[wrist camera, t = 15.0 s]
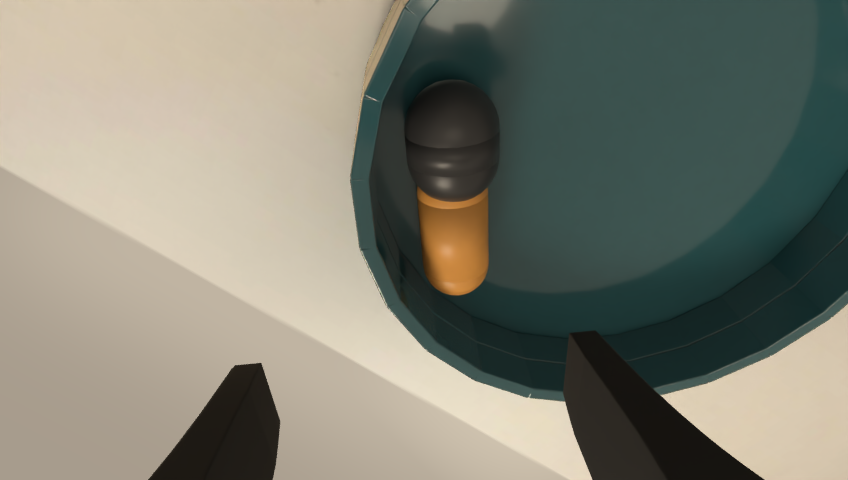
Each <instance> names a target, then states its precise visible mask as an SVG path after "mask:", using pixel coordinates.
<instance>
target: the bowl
mask: <svg viewBox="0 0 848 480" xmlns="http://www.w3.org/2000/svg"><path fill="white" fill-rule="evenodd" d="M443 80H463V81H466V82H469V83H471V84H474V85H476V86H477V87H479V88H480V89H481V90H483V91H484V92H485V93H486V94H487V96H488V97H489V98H490V99H491V100H492V102H493V104H494V106H495V107H496V110H497V114H498V117H499V124H500V158H499V166H498V169H497V172H496V175H495V177H494V179H493V180H492V182H491V183H490V185H489V186H488V252H489V264H488V271H487V274H486V277H485V278H484V280H483V282H482V283H481V284H480V285H479V286H478V287H477V288H476V289H475V290H473V291H472V292H470V293H467V294H464V295H448V294H445V293H442V292H440V291H439V290H437V289H436V288H434V287H433V286H432V284H431V283H430V282H429V281H428V279H427V277H426V275H425V272H424V267H423V258H422V246H421V235H420V224H419V213H418V201H417V185H416V183H415V182H414V181H413V178H412V176H411V174H410V171H409V168H408V163H407V155H406V144H405V134H404V124H405V119H406V114H407V111H408V109H409V107H410V104H411V103H412V102H413V100H414V99H415V97H416V96H417V95H418V94H419V93H420V92H421V91H422V90H423V89H425V88H426V87H428V86H430V85H432V84H433V83H436V82H439V81H443ZM350 183H351V190H352V198H353V205H354V212H355V220H356V227H357V235H358V242H359V248H360V251H361V253H362V256H363V258H364V260H365V262H366V264H367V266H368V268H369V271H370V273H371V275H372V277H373V279H374V281H375V283H376V285H377V288H378V290H379V292H380V294H381V296H382V298H383V300H384V303H385V305H386V306H387V308H388V309H389V310H390V311H391V312H392V313H393V314H394V315H395V317H396V318H397V319H398V320H399V321H400V322H401V323H402V324H403V325H404V327H405V328H406V329H407V330H408V331H409V332H410V333H411V334H412V335H413V336H414V338H415V339H416V340H417V341H418V342H419V343H420V344H421V345H422V346H423V347H424V349H426V350H427V351H428V352H429V353H431V354H433V355H434V356H436V357H437V358H439V359H441V360H442V361H444V362H445V363H447V364H449V365H450V366H452V367H453V368H455V369H457V370H458V371H460V372H461V373H463V374H465V375H466V376H468V377H469V378H471V379H473V380H475V381H477V382H480V383H484V384H487V385H490V386H493V387H496V388H499V389H502V390H505V391H508V392H511V393H514V394H517V395H520V396H523V397H526V398H528V397H529V398H535V399H545V400H554V401H564V402H565V399H564V395H563V389H564V379H565V369H566V360H567V350H568V340H569V333H573V332H583V331H593V330H595V331H597V332H598V333H599V334H600V335H601V336H602V337H603V338H604V339H605V340H606V341H607V343H608V344H609V345H610V346H611V347H612V348H613V349H614V350H615V351H616V352H617V353H618V354H619V355H620V356H621V357H622V358H623V359H624V360H625V361H626V362H627V363H628V364H629V365H630V366H631V367H632V368H633V369H634V370H635V371H636V372H637V373H638V374H639V375H640V376H641V377H642V378H643V379H644V380H645V381H646V382H647V383H648V384H649V385H650V386H651V387H652V388H653V389H654V390H655V391H656V392H657V393H658V394H659V395H664V394H668V393H671V392H675V391H679V390H683V389H687V388H691V387H695V386H699V385H703V384H707V383H708V382H712V381H714V380H717V379H719V378H721V377H724V376H726V375H728V374H731V373H733V372H735V371H737V370H740V369H742V368H744V367H747V366H749V365H751V364H754V363H756V362H758V361H761V360H763V359H765V358H768V357H770V355H771V356H772V355H774V354H775V353H777V352H778V351H780V350H782V349H783V348H785V347H786V346H788V345H790V344H791V343H793V342H794V341H796V340H798V339H799V338H801V337H802V336H804V335H806V334H807V333H809V332H810V331H812V330H813V329H815V328H817V327H818V326H820V325H821V324H823V323H825V322H826V321H828V320H829V319H831V317H833V316H834V315H836V314H837V313H838V312H839V311H840V310H841V309H842V308H844V307H845V306H846V305H847V304H848V0H395V2H394V4H393V7H392V9H391V11H390V13H389V15H388V16H387V18H386V20H385V22H384V24H383V26H382V29H381V32H380V34H379V37H378V40H377V42H376V45H375V47H374V49H373V51H372V54H371V56H370V58H369V60H368V63H367V67H366V70H365V77H364V83H363V90H362V96H361V102H360V109H359V115H358V122H357V128H356V134H355V142H354V150H353V158H352V166H351V174H350Z"/></svg>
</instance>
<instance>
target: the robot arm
mask: <svg viewBox="0 0 848 480" xmlns="http://www.w3.org/2000/svg"><path fill="white" fill-rule="evenodd" d="M563 395H564V399H565V402H566V406H567V410H568V414H569V417H570V421H571V424H572V428H573V431H574V435H575V437H576V440H577V442H578V445H579V447H580V450H581V452H582V455H583V457H584V460H585V462H586V465H587V467H588V469H589V472H590V474H591V477H592V479H593V480H764V479H763V478H761V477H760V476H758V475H757V474H756V473H754V472H753V471H751V470H750V469H749V468H747V467H746V466H744V465H743V464H742V463H740V462H739V461H738V460H736V459H735V458H734V457H732V456H731V455H730V454H728V453H727V452H726V451H725V450H723V449H722V448H721V447H719V446H718V445H717V444H716V443H714V442H713V441H712V440H711V439H709V438H708V437H707V436H706V435H705V434H703V433H702V432H701V431H700V430H699V429H697V428H696V427H695V426H694V425H693V424H692V423H690V422H689V421H688V420H687V419H686V418H685V417H683V416H682V415H681V414H680V413H679V412H678V411H677V410H676V409H674V408H673V407H672V406H671V405H670V404H669V403H668V402H667V401H666V400H665V399H664V398H663V397H661V396H660V395H659V394H658V393H657V392H656V391H655V390H654V389H653V388H652V387H651V386H650V385H649V384H648V383H647V382H646V381H645V380H644V379H643V378H642V377H641V376H640V375H639V374H638V373H637V372H636V371H635V370H634V369H633V368H632V367H631V366H630V365H629V364H628V363H627V362H626V361H625V360H624V359H623V358H622V357H621V356H620V355H619V354H618V353H617V352H616V351H615V350H614V349H613V348H612V347H611V346H610V345H609V344H608V343H607V341H606V340H605V339H604V338H603V337H602V336H601V335H600V334H599V333H598V332H597V331H595V330H593V331H583V332H573V333H569V340H568V350H567V360H566V369H565V379H564V389H563ZM279 429H280V419H279V416H278V413H277V410H276V407H275V404H274V401H273V398H272V395H271V392H270V389H269V385H268V382H267V379H266V376H265V373H264V370H263V367H262V364H261V363H256V364H246V365H235V366H234V367H233V368H232V369H231V371H230V372H229V374H228V375H227V377H226V378H225V379H224V381H223V382H222V383H221V385H220V386H219V388H218V389H217V391H216V392H215V393H214V395H213V396H212V398H211V399H210V401H209V402H208V403H207V405H206V406H205V407H204V409H203V410H202V412H201V413H200V414H199V416H198V417H197V419H196V420H195V421H194V423H193V424H192V425H191V426H190V428H189V429H188V430H187V432H186V433H185V435H184V436H183V437H182V438H181V440H180V441H179V442H178V444H177V445H176V446H175V448H174V449H173V450H172V452H171V453H170V454H169V455H168V456H167V458H166V459H165V460H164V461H163V463H162V464H161V465H160V466H159V467H158V469H157V470H156V471H155V472H154V473H153V475H152V476H151V477H150V478H149V479H148V480H272V479H273V475H274V470H275V465H276V458H277V449H278V439H279Z"/></svg>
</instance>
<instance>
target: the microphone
mask: <svg viewBox="0 0 848 480" xmlns="http://www.w3.org/2000/svg"><path fill="white" fill-rule="evenodd" d="M404 134H405V144H406V155H407V163H408V168H409V171H410V174H411V176H412V178H413V181H414V182H415V183H416V185H417V201H418V213H419V224H420V235H421V246H422V258H423V267H424V272H425V275H426V277H427V279H428V281H429V282H430V283H431V284H432V286H433V287H434V288H436V289H437V290H439V291H440V292H442V293H445V294H448V295H464V294H467V293H470V292H472V291H473V290H475V289H476V288H477V287H478V286H479V285H480V284H481V283H482V282H483V280H484V278H485V277H486V274H487V271H488V264H489V252H488V186H489V185H490V183H491V182H492V180H493V179H494V177H495V175H496V172H497V169H498V166H499V158H500V124H499V117H498V114H497V110H496V107H495V106H494V104H493V102H492V100H491V99H490V98H489V97H488V96H487V94H486V93H485V92H484V91H483V90H481V89H480V88H479V87H477V86H476V85H474V84H471V83H469V82H466V81H463V80H443V81H439V82H436V83H433V84H432V85H430V86H428V87H426V88H425V89H423V90H422V91H421V92H420V93H419V94H418V95H417V96H416V97H415V99H414V100H413V102H412V103H411V104H410V107H409V109H408V111H407V114H406V119H405V124H404Z"/></svg>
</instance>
